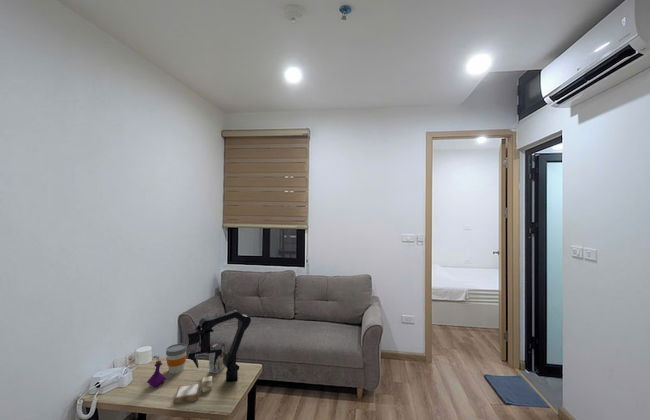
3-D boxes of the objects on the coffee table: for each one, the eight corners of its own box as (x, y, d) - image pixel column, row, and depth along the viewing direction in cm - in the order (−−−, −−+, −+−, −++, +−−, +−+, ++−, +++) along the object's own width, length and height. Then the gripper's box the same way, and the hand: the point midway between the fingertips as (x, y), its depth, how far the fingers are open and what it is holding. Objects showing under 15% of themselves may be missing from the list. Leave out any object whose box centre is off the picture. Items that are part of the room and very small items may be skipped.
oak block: (212, 385, 183) (212, 375, 183) (211, 390, 178) (211, 380, 178) (203, 387, 181) (203, 377, 181) (202, 392, 176) (202, 381, 177)
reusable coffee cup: (181, 375, 195) (181, 351, 195) (162, 375, 195) (161, 351, 196) (190, 365, 208) (190, 343, 208) (172, 365, 208) (172, 343, 208)
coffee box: (216, 365, 207) (216, 341, 207) (225, 366, 206) (225, 342, 206) (209, 372, 198) (208, 347, 198) (217, 373, 197) (217, 348, 197)
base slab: (200, 388, 180) (200, 382, 180) (197, 399, 169) (197, 394, 169) (178, 391, 177) (178, 386, 177) (174, 403, 166) (174, 398, 166)
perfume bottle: (166, 383, 186) (166, 354, 186) (155, 390, 179) (155, 359, 179) (158, 380, 189) (158, 351, 189) (147, 387, 182) (146, 357, 182)
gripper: (222, 333, 190) (223, 357, 190) (190, 337, 185) (191, 362, 185) (221, 340, 179) (222, 366, 180) (187, 344, 175) (188, 372, 175)
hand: (206, 366), depth 180 cm, fingers open, 9 cm apart
